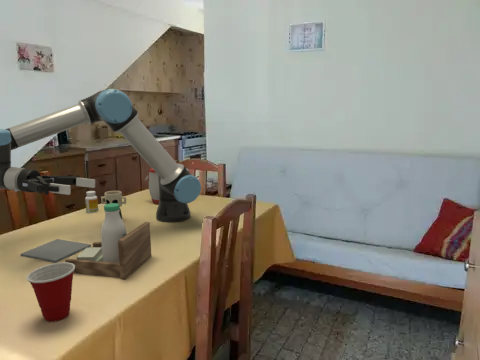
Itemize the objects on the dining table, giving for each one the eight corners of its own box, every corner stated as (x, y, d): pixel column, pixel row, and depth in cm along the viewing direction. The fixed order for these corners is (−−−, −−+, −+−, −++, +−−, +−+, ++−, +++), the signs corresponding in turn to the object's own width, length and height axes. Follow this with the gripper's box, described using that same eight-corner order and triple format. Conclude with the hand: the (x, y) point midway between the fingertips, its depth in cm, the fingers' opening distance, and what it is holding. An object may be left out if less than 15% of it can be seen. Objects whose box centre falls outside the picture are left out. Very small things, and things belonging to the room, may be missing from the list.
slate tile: (91, 246, 146) (90, 244, 146) (55, 262, 132) (55, 260, 132) (57, 241, 152) (57, 238, 152) (20, 256, 138) (20, 253, 138)
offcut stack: (109, 258, 136) (108, 246, 135) (93, 270, 126) (92, 258, 125) (90, 257, 137) (89, 245, 136) (73, 269, 127) (72, 257, 127)
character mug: (99, 224, 173) (97, 194, 170) (105, 219, 180) (103, 190, 177) (125, 224, 172) (123, 194, 170) (129, 219, 179) (128, 190, 177)
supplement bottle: (100, 210, 193) (99, 190, 191) (93, 213, 188) (91, 193, 186) (91, 209, 195) (89, 190, 193) (83, 212, 190) (82, 192, 188)
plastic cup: (41, 305, 104) (36, 261, 102) (84, 303, 105) (80, 260, 103) (23, 329, 94) (17, 280, 91) (71, 326, 95) (66, 278, 92)
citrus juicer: (147, 198, 216) (145, 161, 212) (180, 197, 218) (179, 160, 214) (143, 206, 201) (141, 166, 197) (179, 205, 203) (177, 165, 199)
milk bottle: (121, 271, 125) (117, 208, 121) (98, 269, 127) (93, 207, 123) (132, 261, 133) (128, 202, 129) (111, 259, 134) (106, 201, 130)
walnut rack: (151, 256, 136) (149, 222, 134) (125, 279, 119) (122, 240, 117) (96, 252, 141) (94, 218, 138) (64, 273, 124) (60, 236, 121)
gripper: (48, 185, 145) (103, 192, 141) (-7, 197, 121) (57, 206, 117) (48, 164, 144) (103, 170, 140) (-7, 172, 120) (57, 180, 116)
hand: (82, 186), depth 128 cm, fingers open, 13 cm apart
